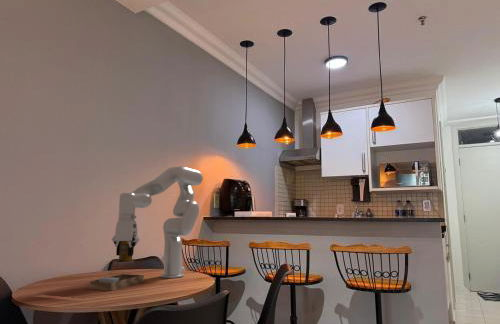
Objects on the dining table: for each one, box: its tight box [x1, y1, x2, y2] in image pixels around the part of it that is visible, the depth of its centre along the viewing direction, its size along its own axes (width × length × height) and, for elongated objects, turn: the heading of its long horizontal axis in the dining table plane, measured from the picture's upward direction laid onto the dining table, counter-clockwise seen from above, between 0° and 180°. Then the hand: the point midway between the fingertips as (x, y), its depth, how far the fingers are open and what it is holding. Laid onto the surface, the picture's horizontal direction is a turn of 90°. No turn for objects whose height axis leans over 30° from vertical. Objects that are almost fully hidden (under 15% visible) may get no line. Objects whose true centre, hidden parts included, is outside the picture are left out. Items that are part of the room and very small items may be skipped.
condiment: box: [112, 241, 133, 264], centre depth 174 cm, size 7×8×12 cm
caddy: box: [88, 273, 145, 291], centre depth 168 cm, size 22×13×4 cm, turn 161°
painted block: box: [98, 276, 119, 283], centre depth 163 cm, size 4×8×4 cm, turn 71°
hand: (124, 255), depth 174 cm, fingers closed on condiment, 6 cm apart
